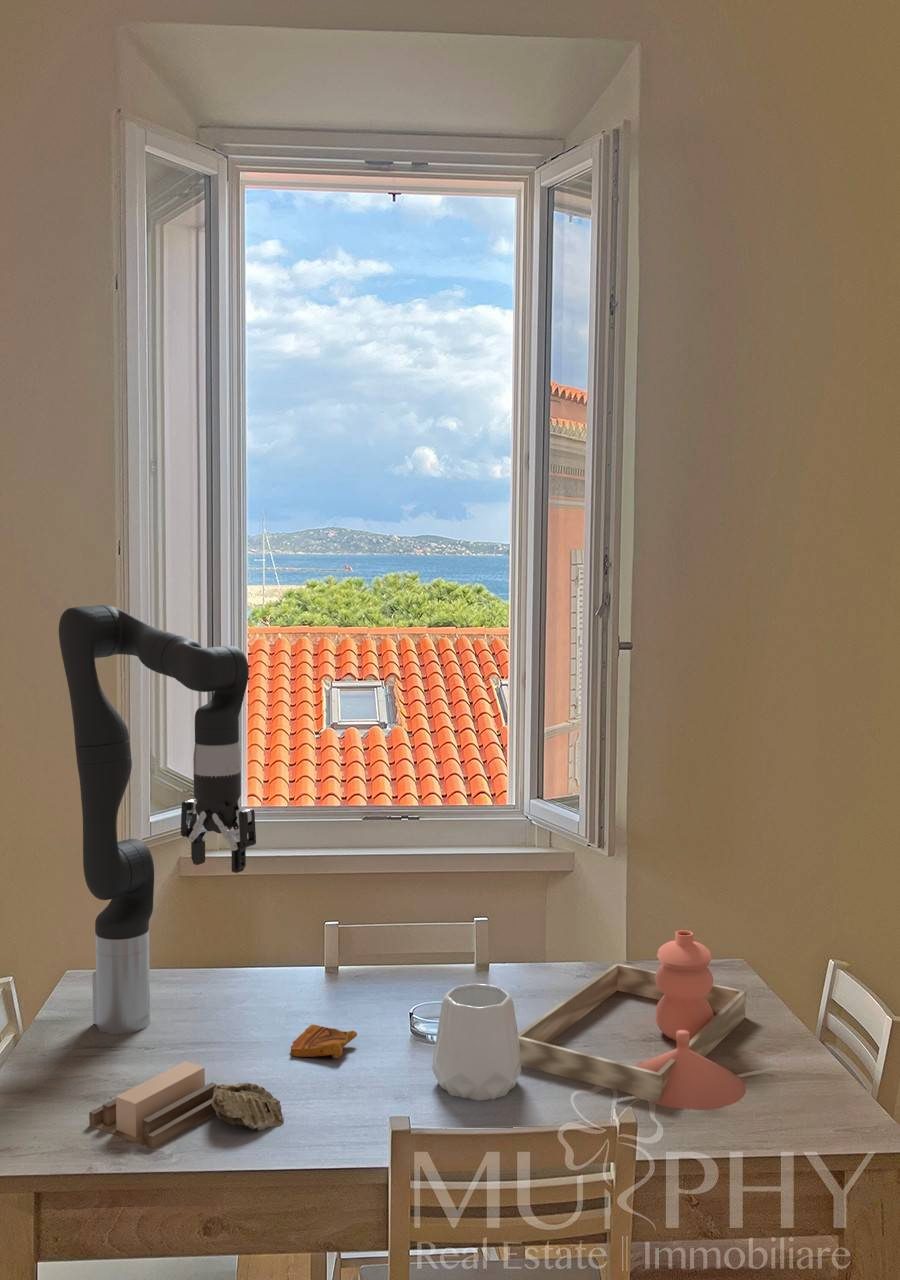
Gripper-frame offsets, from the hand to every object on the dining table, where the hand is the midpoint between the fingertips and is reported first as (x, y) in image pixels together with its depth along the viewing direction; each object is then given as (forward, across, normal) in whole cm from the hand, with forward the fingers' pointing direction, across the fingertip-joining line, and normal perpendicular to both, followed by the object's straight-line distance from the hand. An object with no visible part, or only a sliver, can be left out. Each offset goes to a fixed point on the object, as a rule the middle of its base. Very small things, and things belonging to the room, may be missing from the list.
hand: (218, 867), depth 195 cm
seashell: (+32, -20, +17) cm, 42 cm away
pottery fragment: (+32, -16, -15) cm, 39 cm away
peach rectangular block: (+32, -6, +19) cm, 38 cm away
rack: (+33, -6, +19) cm, 39 cm away
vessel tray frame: (+33, -54, -46) cm, 78 cm away
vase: (+33, -40, -16) cm, 55 cm away
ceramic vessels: (+34, -65, -41) cm, 84 cm away
